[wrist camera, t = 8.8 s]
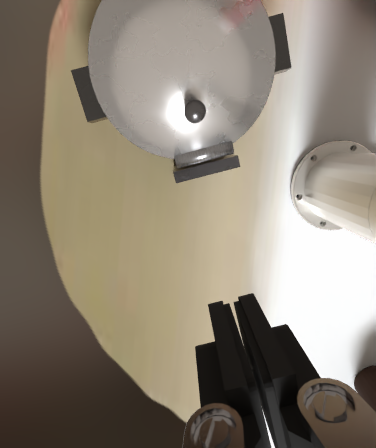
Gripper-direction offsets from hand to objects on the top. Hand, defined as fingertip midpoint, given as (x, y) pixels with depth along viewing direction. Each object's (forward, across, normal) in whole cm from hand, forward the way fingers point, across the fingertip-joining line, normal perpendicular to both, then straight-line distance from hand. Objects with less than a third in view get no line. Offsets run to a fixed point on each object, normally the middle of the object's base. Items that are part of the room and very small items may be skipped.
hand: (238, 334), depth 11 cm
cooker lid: (+23, -2, -15) cm, 28 cm away
